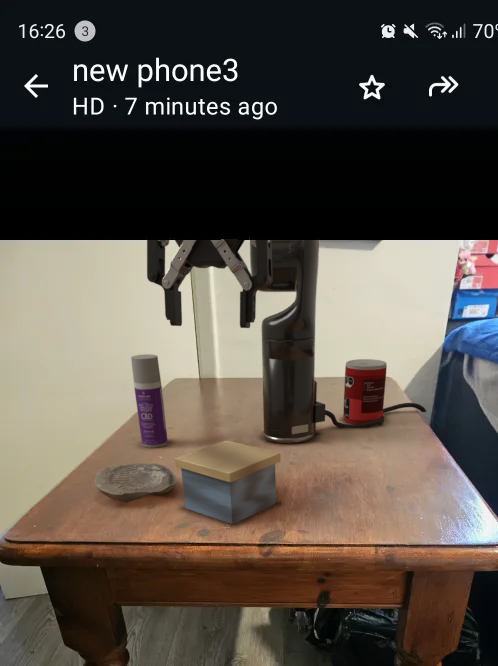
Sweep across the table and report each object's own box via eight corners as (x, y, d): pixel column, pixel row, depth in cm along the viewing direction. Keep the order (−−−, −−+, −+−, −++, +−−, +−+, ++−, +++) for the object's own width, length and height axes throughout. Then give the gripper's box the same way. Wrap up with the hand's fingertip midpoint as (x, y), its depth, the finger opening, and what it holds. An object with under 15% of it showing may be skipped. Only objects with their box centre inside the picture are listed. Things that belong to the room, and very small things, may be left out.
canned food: (350, 413, 122) (353, 358, 116) (387, 417, 119) (392, 360, 113) (337, 422, 116) (339, 364, 111) (375, 427, 113) (380, 367, 108)
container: (143, 449, 104) (131, 359, 96) (141, 441, 108) (129, 355, 100) (169, 446, 105) (159, 357, 97) (166, 439, 109) (156, 353, 101)
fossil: (182, 505, 83) (181, 487, 82) (99, 513, 80) (97, 495, 79) (170, 476, 91) (169, 459, 90) (94, 482, 88) (91, 465, 87)
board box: (229, 487, 87) (226, 439, 83) (281, 503, 82) (280, 452, 78) (179, 508, 81) (174, 457, 77) (232, 527, 75) (229, 473, 71)
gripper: (281, 166, 64) (275, 329, 70) (159, 168, 66) (165, 325, 73) (265, 146, 57) (261, 329, 64) (130, 150, 60) (140, 324, 67)
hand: (210, 326), depth 68 cm, fingers open, 8 cm apart
